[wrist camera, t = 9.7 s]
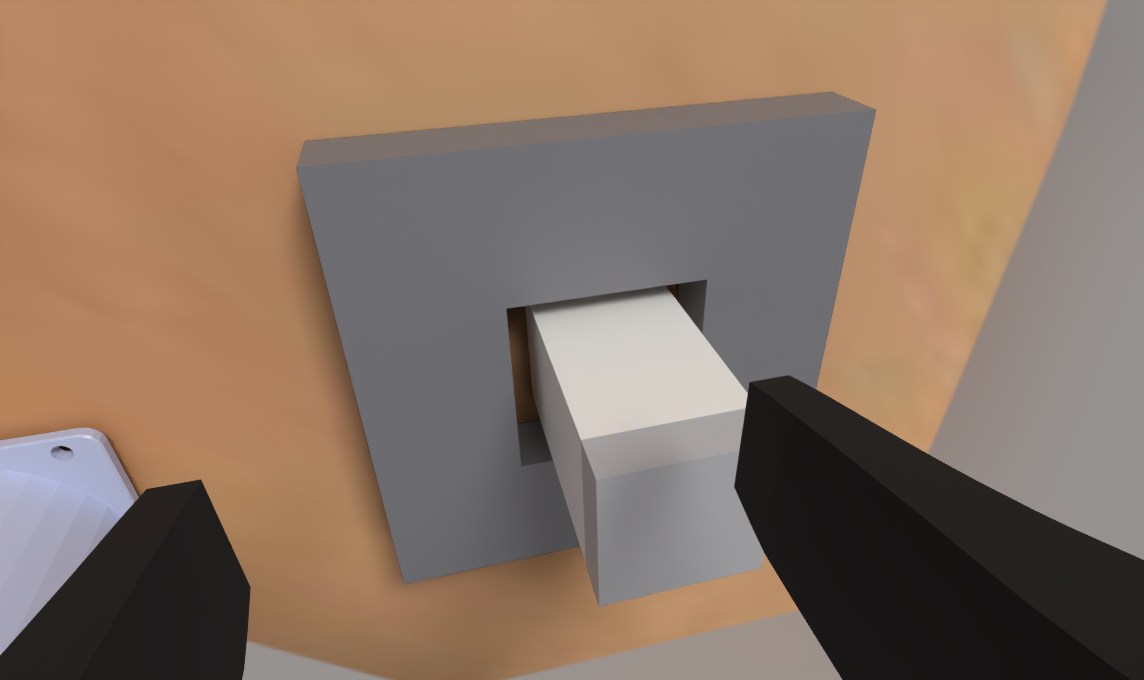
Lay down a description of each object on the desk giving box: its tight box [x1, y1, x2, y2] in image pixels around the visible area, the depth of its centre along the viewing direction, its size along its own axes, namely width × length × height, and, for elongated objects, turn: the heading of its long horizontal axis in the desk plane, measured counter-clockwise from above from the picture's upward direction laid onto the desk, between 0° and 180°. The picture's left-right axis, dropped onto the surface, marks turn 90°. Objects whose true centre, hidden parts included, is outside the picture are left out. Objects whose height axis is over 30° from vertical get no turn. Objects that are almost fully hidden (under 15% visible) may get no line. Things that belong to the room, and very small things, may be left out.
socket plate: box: [296, 92, 876, 584], centre depth 20 cm, size 14×14×3 cm
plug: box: [525, 286, 764, 607], centre depth 18 cm, size 4×4×8 cm
